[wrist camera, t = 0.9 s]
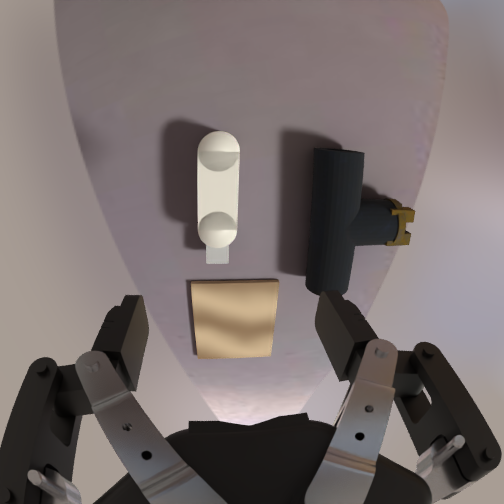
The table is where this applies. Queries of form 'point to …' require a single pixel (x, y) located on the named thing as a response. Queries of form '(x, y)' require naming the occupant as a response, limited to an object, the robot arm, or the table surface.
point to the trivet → (234, 317)
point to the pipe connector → (346, 219)
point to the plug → (218, 194)
